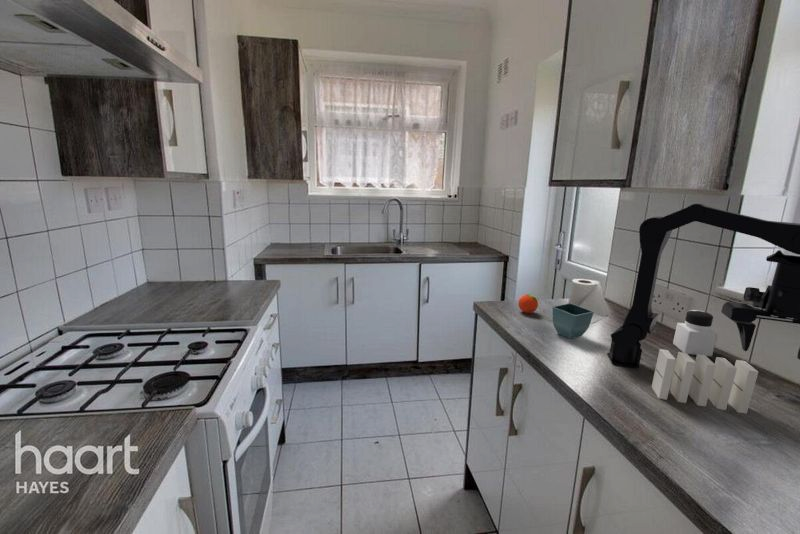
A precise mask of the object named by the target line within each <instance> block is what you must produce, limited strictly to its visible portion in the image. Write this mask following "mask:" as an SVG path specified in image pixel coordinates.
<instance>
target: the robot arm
mask: <svg viewBox="0 0 800 534" xmlns="http://www.w3.org/2000/svg"><path fill="white" fill-rule="evenodd" d="M694 222H698V223H700V224H705V225H708V226H709V225H710V226H712V227H716V228H720V229H724V230H728V231H732V232H736V233H740V234H743V235H747V236H751V237H755V238H758V239H760V240H763V241H766V242H768V243H770V244H771V245H774V246H776V247H779V248H780V249H777V251H775V252H774V253H772V254H770V255H768V256H766V257H765V260H766V261H767V262H771V263H776V267H775V271H774V275H773V278H772V282H771V284H770V285H767V287H766V288H765V291H761V290H760V288H759V287H751V286H749V287H746V288H745V290H744V293H743V301H744V302H748V303H749V302H750V303H752V306H751V305H749V304H748V303H744V302H743V303H742V302H735V301H727V302H725V303H724V304H723V305H722V308H721V310H720V311H721V314H723V315H724V316H726V317H727V318H728V319H729V320H731V321H732V322H734V323H735V324H736V328H737V329H738V333H739V337H740V343H741V349H742V350H743V351H744V352H747V351H748V350H749V349H750V345H751V342H752V340H753V337H754V333H755V330H756V326H757V325H756V324H755V323H754V322H755V321H756V320H757V319H759V320H767V321H773V322H775V321H776V322H782V323H789V324H797V325H798V324H799V325H800V223H797V222H796V223H795V222H787V221H786V222H785V221H775V220H774V221H773V220H767V219H763V218H757V217H753V216H749V215H745V214H741V213H737V212H732V211H728V210H724V209H720V208H716V207H712V206H708V205H706V204H704V203H703V204H702V203H693V204H689V205H688V206H687V207H685V208H682V209H680V210H677V211H675V212H672V213H670V214H667V215H664V216H654V217H649V218H647V219H645V220H643V221H642V222H641V224H640V225H639V229H638V230H639V233H638V234H639V245H640V251H641V255H640V259H639V266H638V271H637V272H638V273H637V277H636V281H635V283H636V284H635V288H634V294H633V300H632V305H631V307H630V308H629V311H628V312H627V314H626V316H625V319H624V321H623V324H622V325H620V326H619V327H618V328H617V329H616V330H615V331H613V332H612V333H611V334H610V337H611V342H610V347H609V351H608V352H607V353H606V355H607V357H608V358H609V360H610V362H611V364H613V365H617V366H622V367H623V366H624V367H629V368H636V369H640V365H639V364H640V363H641V358H642V354H643V349H642V344H641V341H643V340H645V339H646V338H647V337H648V335H651V334H652V333H653V332H654V331H655V330H656V329H657V324H656V323H657V320H658V317H659V315H660V314H659V313H658V312H653V307H652V303H653V299H654V298H653V297H654V295H655V294H654V293H655V288H656V283H657V277H658V272H659V267H660V263H661V258H662V254H663V251H664V249H665V248H666V246H667V244H668V242H669V240H670V236H671V234H672V233H673V230H676V229H679V228H681V227H683V226H686V225H689V224H691V223H694ZM781 249H783V250H786V251H788V252H790V253H792V255H790V254H785V253H783V252H782V250H781ZM793 254H795V255H793ZM756 308H760V309H756ZM796 358H797V360H799V361H800V347H798V352H797V357H796Z"/></svg>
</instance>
